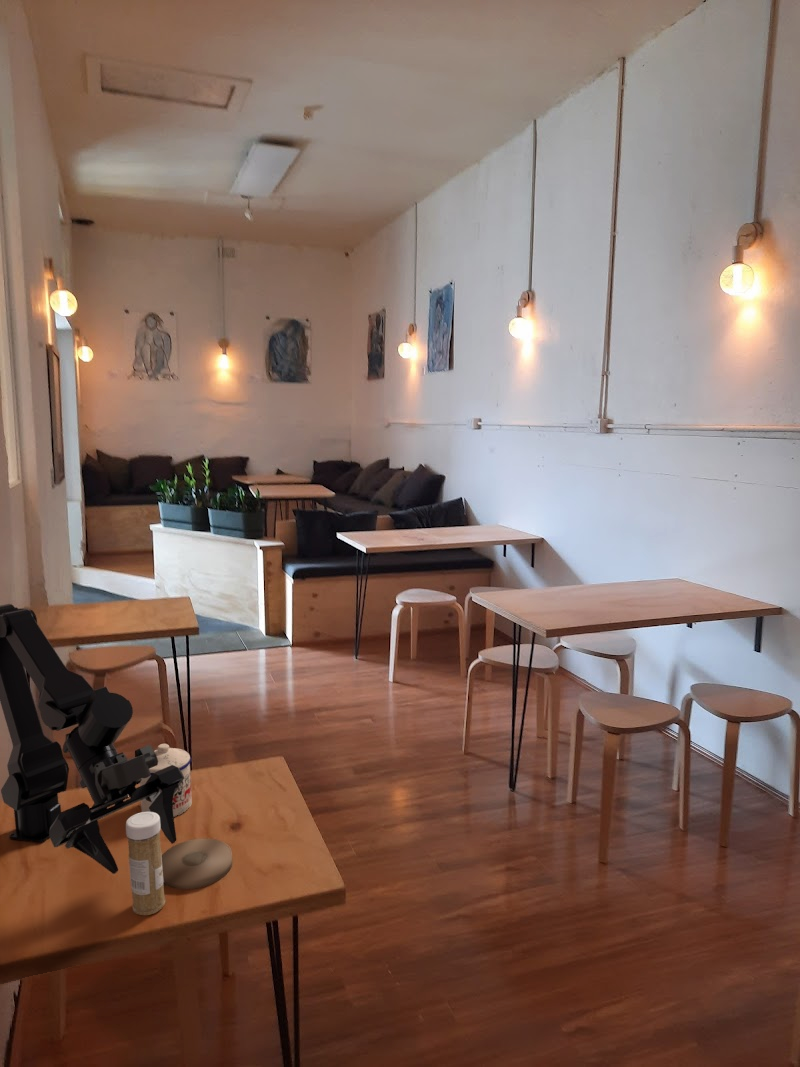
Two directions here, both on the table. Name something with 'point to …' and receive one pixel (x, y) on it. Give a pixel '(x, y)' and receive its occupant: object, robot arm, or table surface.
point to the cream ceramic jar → (183, 794)
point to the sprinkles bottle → (145, 862)
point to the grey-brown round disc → (196, 863)
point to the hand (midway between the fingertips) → (146, 856)
